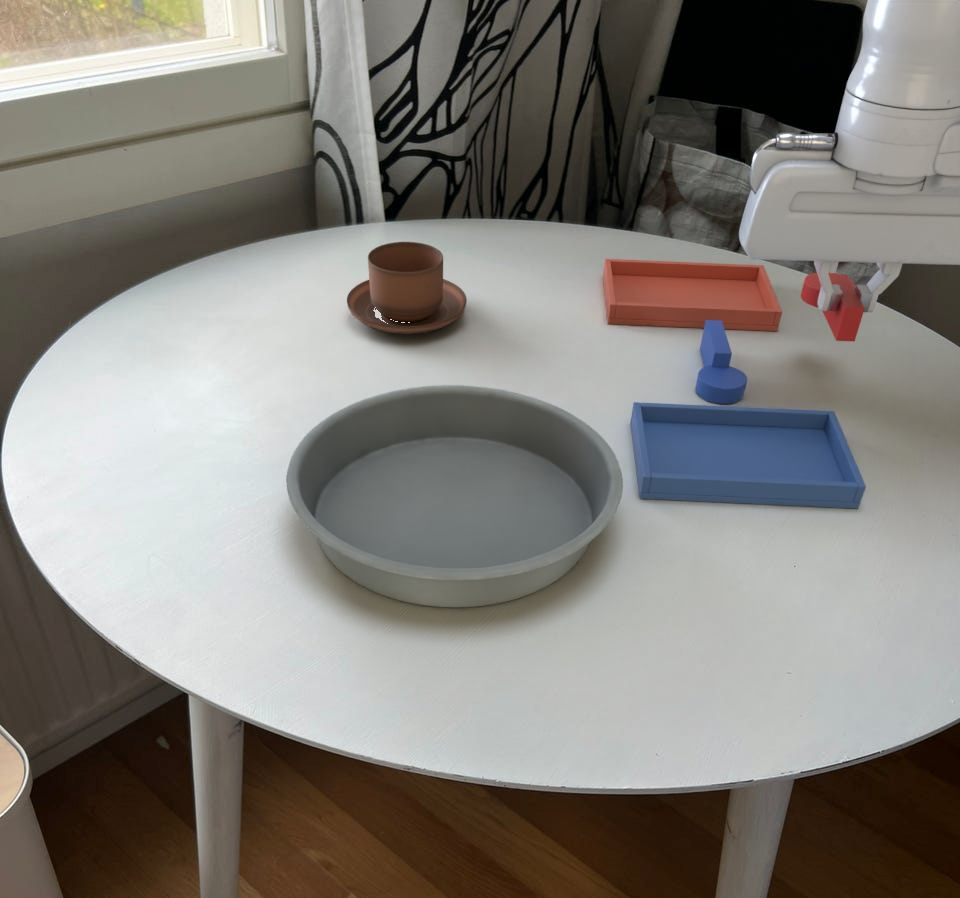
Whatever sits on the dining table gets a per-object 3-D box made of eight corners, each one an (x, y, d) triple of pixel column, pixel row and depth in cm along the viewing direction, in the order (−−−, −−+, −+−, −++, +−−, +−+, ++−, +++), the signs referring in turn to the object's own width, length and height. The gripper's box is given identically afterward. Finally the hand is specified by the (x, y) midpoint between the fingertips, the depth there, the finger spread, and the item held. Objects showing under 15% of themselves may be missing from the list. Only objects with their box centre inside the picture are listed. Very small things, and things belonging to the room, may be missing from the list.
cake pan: (660, 602, 66) (671, 552, 63) (305, 647, 62) (297, 595, 59) (567, 418, 83) (572, 371, 80) (284, 443, 79) (277, 395, 76)
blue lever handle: (685, 347, 93) (690, 318, 91) (730, 349, 93) (736, 320, 91) (698, 403, 86) (704, 373, 84) (747, 405, 86) (754, 375, 84)
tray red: (759, 284, 104) (763, 265, 103) (777, 331, 96) (782, 311, 95) (602, 277, 104) (604, 258, 103) (607, 324, 96) (610, 304, 95)
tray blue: (827, 432, 83) (834, 410, 81) (858, 508, 75) (866, 486, 73) (630, 423, 83) (633, 401, 82) (639, 498, 75) (643, 476, 74)
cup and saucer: (323, 320, 96) (317, 259, 91) (401, 281, 103) (398, 223, 98) (414, 357, 91) (413, 294, 86) (490, 313, 97) (491, 253, 93)
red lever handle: (871, 342, 81) (882, 308, 79) (819, 340, 82) (828, 307, 79) (843, 289, 89) (852, 257, 87) (796, 287, 89) (804, 256, 87)
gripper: (764, 145, 70) (729, 322, 80) (1044, 152, 70) (974, 329, 80) (751, 119, 75) (718, 289, 85) (1013, 125, 74) (950, 296, 84)
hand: (844, 309), depth 82 cm, fingers closed on red lever handle
